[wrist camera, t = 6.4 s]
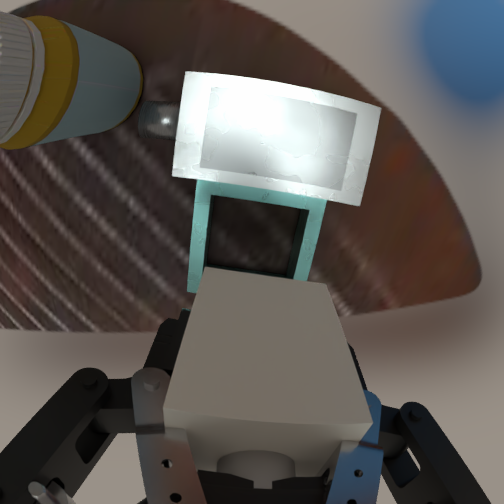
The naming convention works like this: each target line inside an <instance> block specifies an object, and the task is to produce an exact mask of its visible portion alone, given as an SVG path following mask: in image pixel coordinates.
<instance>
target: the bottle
mask: <svg viewBox="0 0 504 504" xmlns="http://www.w3.org/2000/svg"><path fill="white" fill-rule="evenodd" d="M142 85H143V75H142V70H141V66H140V64H139V62H138V60H137V59H136V57H135V56H134V55H133V54H132V53H131V52H130V51H128V50H127V49H125V48H124V47H122V46H120V45H118V44H116V43H113V42H111V41H109V40H107V39H105V38H102V37H100V36H98V35H96V34H93V33H91V32H89V31H86V30H84V29H81V28H79V27H76V26H74V25H71V24H69V23H66V22H64V21H61V20H58V19H56V18H51V17H48V16H33V17H28V18H20V17H16V16H15V15H12V14H8V13H4V12H0V147H1V148H4V149H9V150H10V149H20V148H25V147H30V146H35V145H39V144H43V143H48V142H52V141H57V140H62V139H67V138H72V137H77V136H82V135H88V134H94V133H100V132H104V131H107V130H110V129H112V128H115V127H117V126H118V125H119V124H121V123H122V122H123V121H125V120H126V119H127V118H128V117H129V115H130V114H131V113H132V111H133V110H134V109H135V107H136V105H137V103H138V101H139V98H140V96H141V92H142Z"/></svg>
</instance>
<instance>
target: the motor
mask: <svg viewBox="0 0 504 504" xmlns="http://www.w3.org/2000/svg"><path fill="white" fill-rule="evenodd" d="M380 112H381V108H380V107H377V106H374V105H371V104H367V103H364V102H361V101H357V100H353V99H350V98H346V97H342V96H339V95H335V94H331V93H327V92H322V91H318V90H314V89H309V88H305V87H300V86H295V85H290V84H285V83H279V82H273V81H267V80H261V79H255V78H248V77H240V76H232V75H224V74H214V73H203V72H189V71H186V73H185V79H184V85H183V92H182V98H181V102H166V101H145V102H144V103H143V105H142V107H141V109H140V113H139V118H138V131H139V135H140V137H142V138H154V139H167V140H176V143H175V152H174V161H173V171H172V176H175V177H184V178H192V179H197V186H196V194H195V204H194V214H193V224H192V235H191V246H190V258H189V271H188V285H187V292H193V293H197V290H198V287H199V284H200V281H201V278H202V275H203V272H204V268H205V267H210V268H217V269H224V270H231V271H237V272H244V273H251V274H258V275H265V276H272V277H279V278H286V279H294V280H301V281H307V278H308V274H309V271H310V267H311V263H312V259H313V255H314V251H315V247H316V243H317V239H318V235H319V231H320V227H321V223H322V219H323V215H324V211H325V206H326V202H327V200H331V201H336V202H341V203H346V204H351V205H356V206H360V203H361V199H362V195H363V191H364V187H365V183H366V179H367V174H368V170H369V166H370V161H371V157H372V152H373V147H374V143H375V138H376V133H377V128H378V122H379V117H380ZM215 195H218V196H225V197H232V198H239V199H245V200H252V201H258V202H265V203H271V204H277V205H283V206H289V207H295V208H301V210H300V214H299V219H298V223H297V228H296V233H295V237H294V242H293V246H292V250H291V255H290V259H289V264H288V268H287V272H286V275H282V274H275V273H268V272H260V271H253V270H246V269H239V268H232V267H226V266H219V265H212V264H207V256H208V247H209V238H210V230H211V221H212V213H213V205H214V197H215Z"/></svg>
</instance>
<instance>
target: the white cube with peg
mask: <svg viewBox="0 0 504 504" xmlns="http://www.w3.org/2000/svg"><path fill="white" fill-rule="evenodd" d="M163 413H164V425H165V427H171V428H182V429H185V431H186V435H187V439H188V442H189V446H190V450H191V453H192V457H193V460H194V464H195V467H196V470H197V471H198V469H199V470H205V471H213V472H221V473H230V474H233V475H236V476H239V477H242V478H246V479H249V480H253V481H254V488H260V489H272V481H276V480H281V479H286V478H290V477H315V475H316V474H317V473H318V472H319V470H320V469H321V468H322V467H323V465H324V464H325V463H326V461H327V460H328V459H329V457H330V456H331V455H332V453H333V452H334V451H335V449H336V448H337V447H338V445H339V444H340V442H341V441H342V440H350V441H358V442H359V441H360V440H361V439H362V437H363V436H364V435H365V433H366V432H367V431H368V429H369V428H370V427H371V425H372V424H373V421H372V417H371V414H370V411H369V408H368V404H367V401H366V398H365V395H364V392H363V389H362V385H361V382H360V379H359V376H358V373H357V370H356V367H355V364H354V361H353V358H352V355H351V352H350V349H349V346H348V344H347V341H346V338H345V335H344V332H343V329H342V327H341V324H340V321H339V318H338V315H337V313H336V310H335V307H334V304H333V302H332V299H331V296H330V294H329V291H328V288H327V286H326V284H323V283H316V282H308V281H301V280H294V279H286V278H279V277H272V276H265V275H258V274H251V273H244V272H237V271H231V270H224V269H217V268H210V267H205V268H204V272H203V275H202V278H201V281H200V284H199V287H198V290H197V294H196V297H195V300H194V303H193V306H192V310H191V313H190V316H189V319H188V323H187V326H186V329H185V332H184V336H183V339H182V343H181V346H180V349H179V353H178V356H177V359H176V363H175V366H174V370H173V373H172V377H171V380H170V384H169V387H168V391H167V395H166V398H165V402H164V406H163Z"/></svg>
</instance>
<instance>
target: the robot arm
mask: <svg viewBox="0 0 504 504" xmlns="http://www.w3.org/2000/svg"><path fill="white" fill-rule="evenodd" d="M190 313H191V310H189V309H182V311H181V314H180V317H179V319H178V320H176V319H171V318H168V319H167V320H166V321H164V322H163V323H162V324H161V325H160V327H159V329H158V332H157V335H156V337H155V339H154V342H153V345H152V347H151V349H150V352H149V355H148V357H147V360H146V362H145V364H144V367H143V369H140V370H138V371H137V372H136V373H134V375H133V376H132V377H130V378H126V379H108V378H107V376H106V374H105V373H104V372H102V371H101V370H99V369H96V368H83V369H80V370H78V371H77V372H75V373H74V374H73V375H72V376H71V378H69V380H67V381H66V383H65V384H64V385H63V386H62V387H61V388H60V389H59V390H58V391H57V392H56V393H55V394H54V395H53V396H52V397H51V398H50V399H49V400H48V402H46V404H45V405H44V406H43V407H42V408H41V409H40V410H39V411H38V412H37V413H36V414H35V415H34V416H33V417H32V419H31V420H30V421H29V422H28V423H27V424H26V425H25V426H24V427H23V428H22V430H21V431H20V432H19V433H18V434H17V435H16V436H15V437H14V438H13V439H12V441H11V442H10V443H9V444H8V445H7V446H6V447H5V448H4V450H3V451H2V452H1V453H0V504H75V502H74V501H73V500H72V497H73V496H74V495H75V493H76V492H77V490H78V489H79V488H80V486H81V485H82V483H83V482H84V480H85V479H86V478H87V476H88V475H89V473H90V472H91V470H92V469H93V468H94V466H95V465H96V463H97V462H98V461H99V459H100V458H101V456H102V455H103V453H104V452H105V451H106V449H107V448H108V446H109V445H110V444H111V442H112V441H113V439H114V438H115V436H116V435H117V434H118V433H136V439H137V447H138V453H139V460H140V466H141V471H142V477H143V482H144V487H145V492H146V498H145V499H143V500H142V501H140V502H139V503H138V504H376V501H377V495H378V489H379V483H380V476H381V474H382V476H383V478H384V480H385V482H386V484H387V486H388V488H389V489H390V491H391V493H392V495H393V497H394V499H395V501H396V503H397V504H491V503H490V501H489V499H488V498H487V496H486V495H485V493H484V492H483V490H482V488H481V487H480V485H479V484H478V483H477V481H476V479H475V478H474V476H473V475H472V473H471V472H470V470H469V469H468V467H467V466H466V464H465V463H464V461H463V460H462V458H461V457H460V455H459V454H458V452H457V451H456V449H455V448H454V447H453V445H452V444H451V443H450V441H449V440H448V438H447V436H446V435H445V434H444V432H443V431H442V429H441V428H440V426H439V425H438V424H437V422H436V421H435V420H434V418H433V417H432V415H431V414H430V413H429V411H428V410H427V409H426V408H425V407H424V406H423V405H421V404H419V403H417V402H407V403H405V404H404V405H403V406H402V407H401V408H400V409H396V408H392V407H388V406H384V405H382V404H381V402H380V400H379V398H378V397H377V396H376V395H375V394H373V393H372V392H370V391H368V390H367V387H366V384H365V381H364V378H363V375H362V372H361V369H360V367H359V364H358V361H357V359H356V355H355V352H354V349H353V348H352V347H351V346H350V345H349V344H348V342H347V344H348V346H349V349H350V352H351V355H352V358H353V361H354V364H355V367H356V370H357V373H358V376H359V379H360V382H361V385H362V389H363V392H364V395H365V398H366V401H367V404H368V408H369V411H370V414H371V417H372V421H373V424H372V425H371V427H370V428H369V429H368V431H367V432H366V433H365V435H364V436H363V437H362V439H361V440H360V441H359V442H358V441H350V440H342V441H341V442H340V444H339V445H338V447H337V448H336V449H335V451H334V452H333V453H332V455H331V456H330V457H329V459H328V460H327V461H326V463H325V464H324V465H323V467H322V468H321V469H320V470H319V472H318V473H317V474H316V475H315V477H290V478H286V479H281V480H276V481H272V489H260V488H254V481H253V480H249V479H246V478H242V477H239V476H236V475H233V474H230V473H221V472H213V471H205V470H199V469H198V471H197V470H196V467H195V464H194V460H193V457H192V453H191V450H190V446H189V442H188V439H187V435H186V431H185V429H182V428H171V427H165V425H164V413H163V406H164V402H165V398H166V395H167V391H168V387H169V384H170V380H171V377H172V373H173V370H174V366H175V363H176V359H177V356H178V353H179V349H180V346H181V343H182V339H183V336H184V332H185V329H186V326H187V323H188V319H189V316H190ZM408 448H410V450H411V451H412V453H413V455H414V456H415V458H416V459H417V461H418V463H419V465H420V471H419V469H418V467H417V466H416V464H415V462H414V461H413V459H412V458H411V456H410V454H409V453H408V451H407V449H408Z"/></svg>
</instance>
